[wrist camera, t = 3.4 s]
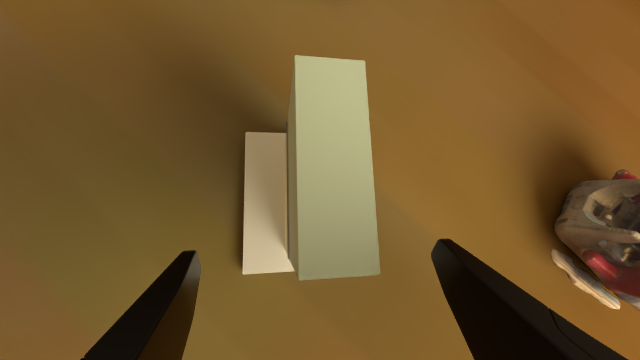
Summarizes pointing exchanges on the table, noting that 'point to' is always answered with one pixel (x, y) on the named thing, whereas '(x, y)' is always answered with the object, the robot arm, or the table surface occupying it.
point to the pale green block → (330, 171)
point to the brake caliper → (603, 237)
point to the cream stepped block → (266, 204)
